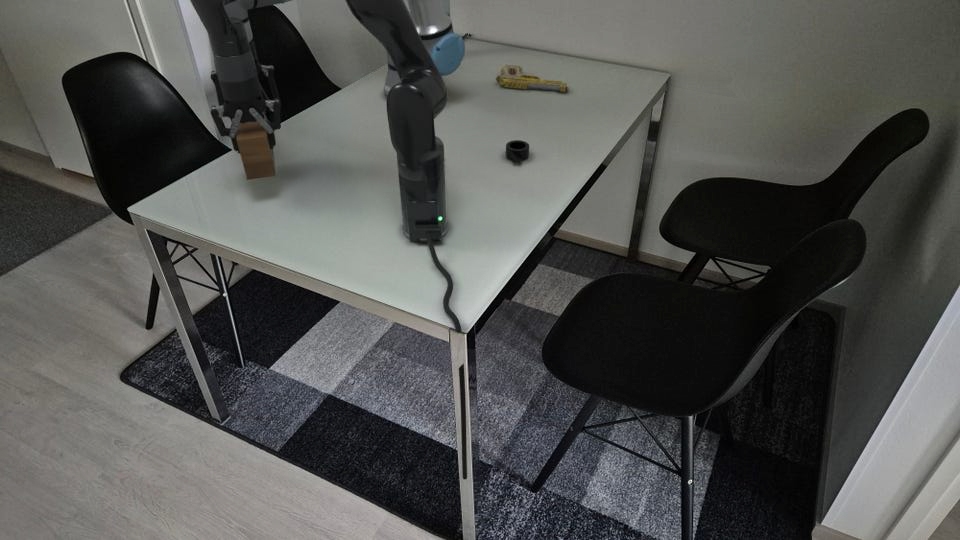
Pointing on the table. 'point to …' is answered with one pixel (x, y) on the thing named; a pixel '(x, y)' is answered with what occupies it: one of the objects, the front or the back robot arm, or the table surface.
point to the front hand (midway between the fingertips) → (255, 149)
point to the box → (255, 150)
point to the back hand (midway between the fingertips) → (258, 140)
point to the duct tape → (517, 150)
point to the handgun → (527, 80)
